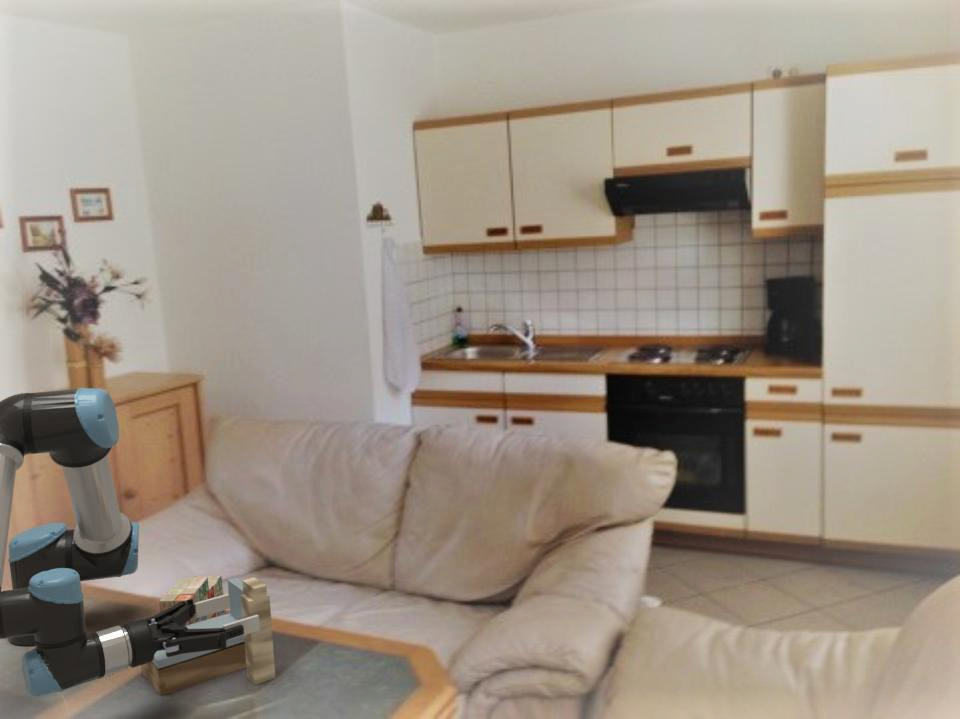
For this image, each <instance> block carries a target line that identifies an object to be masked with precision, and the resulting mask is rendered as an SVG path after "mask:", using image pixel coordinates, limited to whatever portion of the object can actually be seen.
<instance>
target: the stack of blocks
mask: <svg viewBox="0 0 960 719" xmlns="http://www.w3.org/2000/svg"><path fill="white" fill-rule="evenodd" d="M222 579H223V578H222V575H201V576H194V577H191V578H190V577H189V578H188V577H187V578H179V579H178V580H177V582H176V583H174V585H173V586H172V587H171V589H169V590H168V591H167V592H166V593H165V595H164V596H162V597H161V599H159V602H158V606H159V613H160V612H162V611H164V610H166V609H168V608H170V607H172V606H174V605H176V604H178V603H180V602H182V601H186V602H187V600H188V599H193V605H194V604H195V603H197V602H200V601H204V600H207V599H211V598H214V597H218V596H221V595H224V588H223V580H222ZM179 610H180V608H179ZM224 612H225V613H226V610H223V611H219V612H216V613H212V614H209V615H206V616H202V617H199V618H196V615H195V614H194V617H193V618H191V619H190V620H189V621H188V622H186V623H185V624H184V625H182V626H187V625H191V624H194V623H197V622H201V621H204V620H208V619H211V618H215V617H218V616H221V615H223V613H224Z"/></svg>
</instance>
